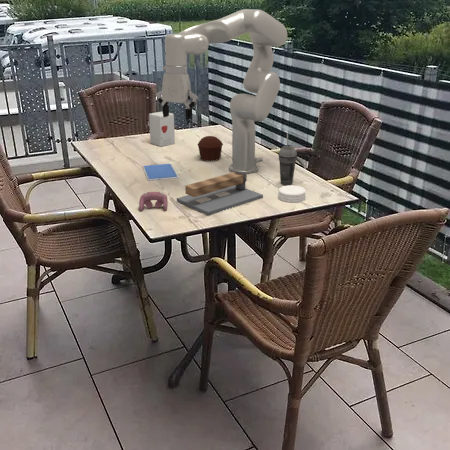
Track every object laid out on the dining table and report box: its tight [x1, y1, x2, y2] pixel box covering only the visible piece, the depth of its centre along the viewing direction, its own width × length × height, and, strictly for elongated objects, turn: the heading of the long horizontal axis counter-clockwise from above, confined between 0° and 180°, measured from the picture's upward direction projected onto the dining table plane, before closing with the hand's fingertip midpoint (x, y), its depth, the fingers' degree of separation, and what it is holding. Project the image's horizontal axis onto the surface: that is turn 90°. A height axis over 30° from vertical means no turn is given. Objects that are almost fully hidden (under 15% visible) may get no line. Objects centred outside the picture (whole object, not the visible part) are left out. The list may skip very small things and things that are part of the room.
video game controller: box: [138, 191, 169, 212], centre depth 194 cm, size 10×5×7 cm, turn 92°
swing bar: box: [184, 171, 248, 197], centre depth 201 cm, size 26×5×3 cm, turn 131°
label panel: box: [176, 182, 264, 216], centre depth 202 cm, size 26×18×4 cm
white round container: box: [277, 184, 307, 203], centre depth 204 cm, size 10×10×4 cm
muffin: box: [197, 135, 224, 162], centre depth 249 cm, size 12×11×10 cm
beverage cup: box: [278, 132, 298, 186], centre depth 215 cm, size 7×7×20 cm
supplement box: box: [148, 110, 176, 147], centre depth 273 cm, size 9×9×15 cm
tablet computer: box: [142, 163, 179, 182], centre depth 232 cm, size 19×13×1 cm, turn 14°
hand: (177, 117), depth 206 cm, fingers open, 9 cm apart
